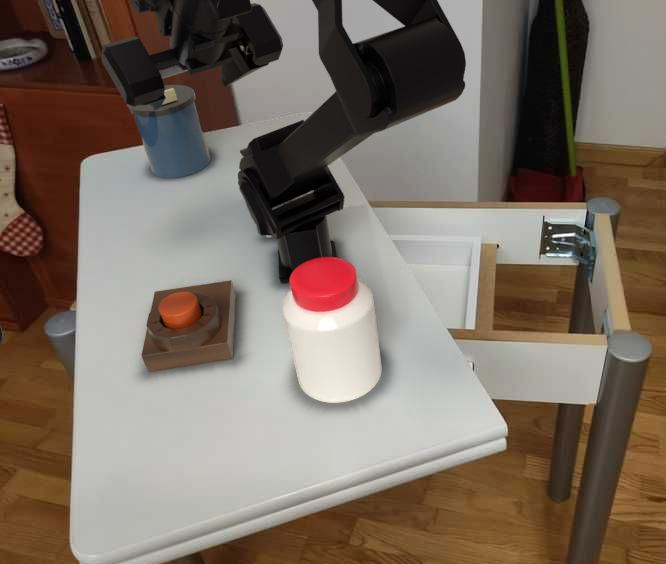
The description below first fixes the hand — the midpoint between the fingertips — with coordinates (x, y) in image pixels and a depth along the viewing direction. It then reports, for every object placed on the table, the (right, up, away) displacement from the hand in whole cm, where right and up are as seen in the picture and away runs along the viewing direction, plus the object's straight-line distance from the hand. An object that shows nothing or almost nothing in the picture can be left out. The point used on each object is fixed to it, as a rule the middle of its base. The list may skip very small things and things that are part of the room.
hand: (189, 94), depth 79 cm
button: (+4, -27, -16) cm, 32 cm away
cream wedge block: (-6, +3, +9) cm, 11 cm away
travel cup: (-6, -4, +17) cm, 18 cm away
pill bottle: (+19, -32, -18) cm, 42 cm away
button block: (+4, -28, -12) cm, 31 cm away
